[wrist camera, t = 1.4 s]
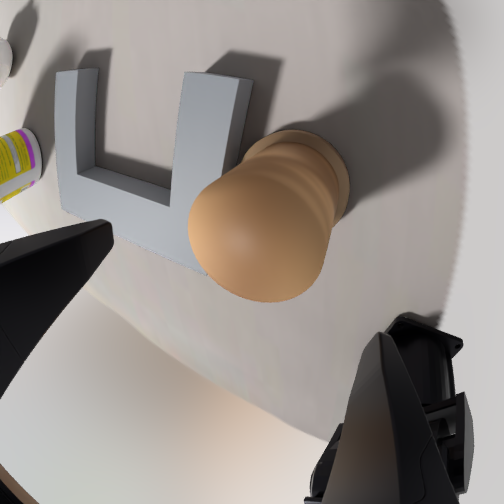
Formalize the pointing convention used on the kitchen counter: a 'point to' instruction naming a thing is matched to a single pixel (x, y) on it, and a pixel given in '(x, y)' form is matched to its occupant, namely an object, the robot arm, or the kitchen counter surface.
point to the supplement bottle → (18, 163)
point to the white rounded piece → (5, 61)
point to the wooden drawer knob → (271, 217)
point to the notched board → (137, 191)
